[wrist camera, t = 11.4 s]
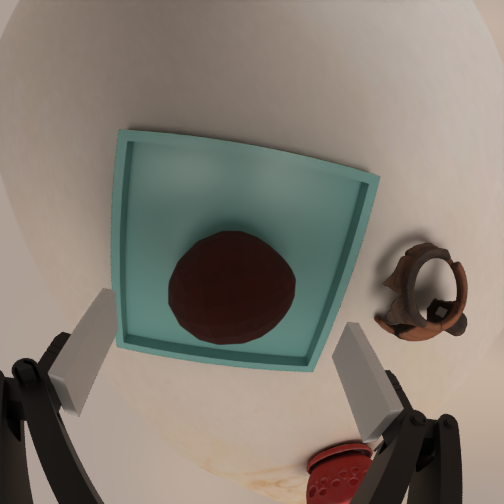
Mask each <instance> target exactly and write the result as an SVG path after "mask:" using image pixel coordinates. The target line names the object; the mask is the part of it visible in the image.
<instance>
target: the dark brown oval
mask: <svg viewBox="0 0 504 504" xmlns="http://www.w3.org/2000/svg"><path fill="white" fill-rule="evenodd" d="M295 287H296V278H295V275H294V273H293V271H292V269H291V267H290V266H289V264H288V263H287V262H286V261H285V259H284V258H283V257H282V256H281V255H280V254H279V253H278V252H276V251H275V250H274V249H273V248H272V247H271V246H270V245H268V244H267V243H265V242H264V241H262V240H261V239H259V238H258V237H256V236H253V235H251V234H248V233H246V232H243V231H220V232H218V233H216V234H213V235H211V236H209V237H206V238H204V239H202V240H199V241H197V242H196V243H195V244H194V245H193V246H192V247H191V248H190V249H189V250H188V251H187V252H186V253H185V254H184V255H183V256H182V257H181V258H180V259H179V261H178V262H177V264H176V266H175V268H174V271H173V273H172V275H171V277H170V280H169V285H168V305H169V306H170V308H171V310H172V312H173V314H174V316H175V318H176V319H177V321H178V323H179V325H180V326H181V327H182V328H184V329H185V330H186V331H188V332H189V333H190V334H192V335H193V336H194V337H196V338H197V339H198V340H201V341H205V342H208V343H212V344H216V345H229V344H244V343H247V342H249V341H252V340H255V339H258V338H261V337H262V336H264V335H265V334H267V333H268V332H270V331H271V330H272V329H274V328H275V327H276V326H277V325H278V323H279V322H280V321H281V320H282V319H283V318H284V317H285V315H286V314H287V312H288V311H289V309H290V307H291V305H292V303H293V300H294V297H295Z"/></svg>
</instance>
